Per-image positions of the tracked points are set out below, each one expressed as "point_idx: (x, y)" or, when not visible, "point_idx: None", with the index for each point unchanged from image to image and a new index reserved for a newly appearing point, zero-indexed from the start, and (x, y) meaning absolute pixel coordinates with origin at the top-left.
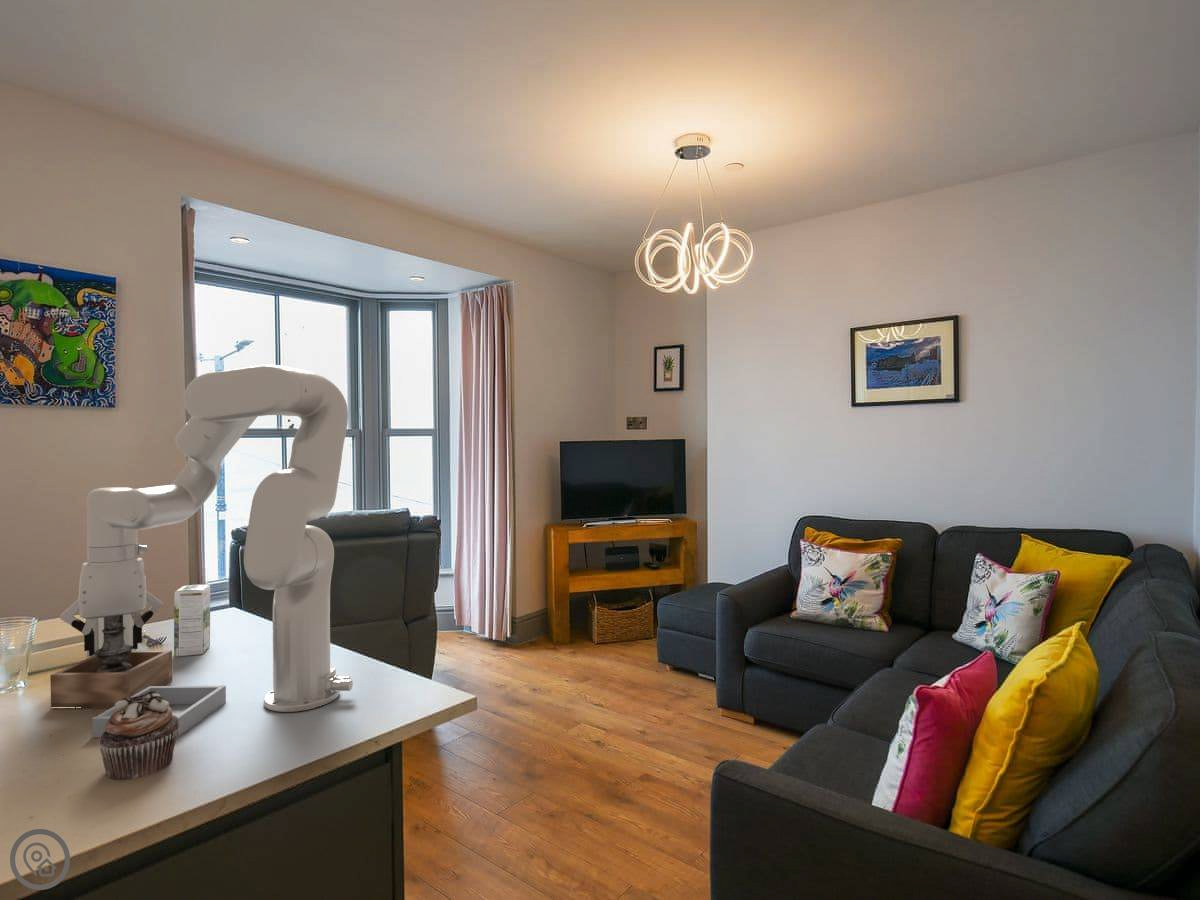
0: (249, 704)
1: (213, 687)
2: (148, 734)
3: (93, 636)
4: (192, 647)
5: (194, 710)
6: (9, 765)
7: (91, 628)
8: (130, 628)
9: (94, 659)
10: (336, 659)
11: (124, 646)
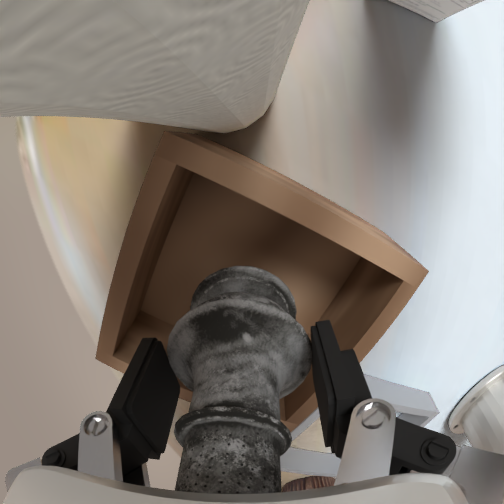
0: (444, 403)
1: (424, 415)
2: None
3: (164, 449)
4: (423, 4)
5: None
6: (180, 457)
7: (148, 478)
8: (274, 72)
9: (151, 229)
10: None
11: (282, 387)
